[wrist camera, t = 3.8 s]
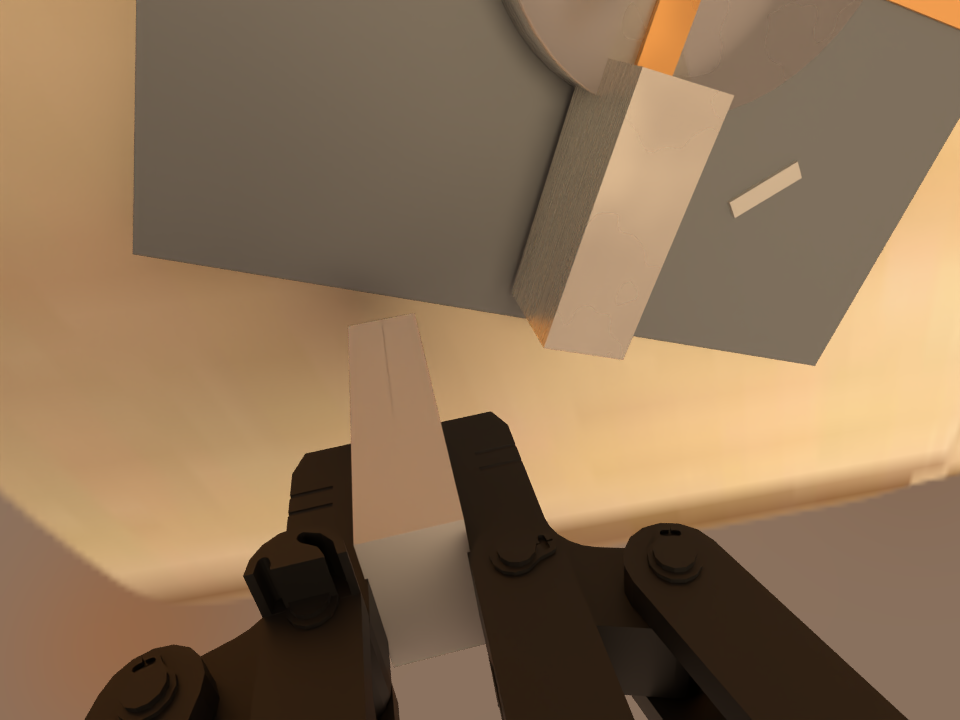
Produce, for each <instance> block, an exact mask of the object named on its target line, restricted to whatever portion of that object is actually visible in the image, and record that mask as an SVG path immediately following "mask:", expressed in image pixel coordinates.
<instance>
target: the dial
mask: <svg viewBox="0 0 960 720" xmlns="http://www.w3.org/2000/svg"><path fill="white" fill-rule="evenodd" d="M502 1H503V3H504V6H505V8H506V10H507V12H508V14H509V15H510V17H511V19H512V21H513V23H514V25H515V26H516V28H517V30H518V32H519V33H520V34H521V36H522V37H523V39H524V40H525V41H526V43H527V44H528V45H529V47H530V48H531V50H532V51H533V52H534V53H535V54H536V55H537V56H538V57H539V58H540V59H541V61H542V62H543V63H544V64H545V65H546V66H547V67H548V68H549V69H550V70H552V71H553V72H554V73H555V74H557V75H558V76H559V77H560V78H562V79H563V80H564V81H566V82H567V83H568V84H570V85H572V86H574V87H575V89H574V93H573V96H572V99H571V102H570V105H569V109H568V112H567V115H566V118H565V121H564V125H563V128H562V131H561V134H560V137H559V141H558V144H557V147H556V150H555V153H554V157H553V160H552V163H551V166H550V170H549V173H548V176H547V179H546V182H545V186H544V189H543V192H542V195H541V198H540V202H539V205H538V208H537V211H536V214H535V218H534V221H533V224H532V227H531V231H530V234H529V237H528V240H527V243H526V247H525V250H524V253H523V256H522V259H521V263H520V266H519V269H518V272H517V275H516V279H515V282H514V285H513V288H512V292H511V293H512V295H513V297H514V298H515V300H516V302H517V303H518V305H519V307H520V309H521V310H522V312H523V314H524V315H525V317H526V319H527V320H528V322H529V324H530V325H531V327H532V329H533V331H534V332H535V334H536V336H537V337H538V339H539V341H540V342H541V344H542V346H543V348H548V349H554V350H561V351H568V352H574V353H581V354H588V355H594V356H601V357H608V358H614V359H621V360H623V359H624V356H625V354H626V351H627V349H628V347H629V344H630V342H631V340H632V337H633V335H634V333H635V330H636V328H637V325H638V323H639V321H640V318H641V316H642V314H643V311H644V309H645V306H646V304H647V302H648V299H649V297H650V295H651V292H652V290H653V287H654V285H655V283H656V280H657V278H658V276H659V273H660V271H661V268H662V266H663V264H664V261H665V259H666V257H667V254H668V252H669V250H670V247H671V245H672V242H673V240H674V238H675V235H676V233H677V231H678V228H679V226H680V223H681V221H682V219H683V216H684V214H685V212H686V209H687V207H688V204H689V202H690V200H691V197H692V195H693V193H694V190H695V188H696V185H697V183H698V181H699V178H700V176H701V174H702V171H703V169H704V167H705V164H706V162H707V159H708V157H709V155H710V152H711V150H712V148H713V145H714V143H715V140H716V138H717V136H718V133H719V131H720V129H721V126H722V124H723V121H724V119H725V117H726V114H727V112H728V111H729V110H731V109H734V108H736V107H739V106H742V105H744V104H747V103H749V102H752V101H753V100H755V99H757V98H759V97H761V96H763V95H765V94H766V93H768V92H770V91H772V90H774V89H775V88H777V87H778V86H780V85H781V84H782V83H784V82H785V81H787V80H788V79H790V78H791V77H792V76H794V75H795V74H797V73H798V72H799V71H800V70H801V69H802V68H804V67H805V66H806V65H807V64H808V63H809V62H811V61H812V60H813V59H814V58H815V57H816V56H817V55H818V54H819V53H820V52H821V51H822V50H823V49H824V48H825V47H826V46H827V45H828V44H829V43H830V42H831V41H832V40H833V39H834V38H835V36H836V35H837V34H838V33H839V32H840V31H841V29H842V28H843V27H844V26H845V24H846V23H847V22H848V20H849V19H850V18H851V17H852V15H853V14H854V13H855V12H856V10H857V9H858V7H859V6H860V4H861V3H862V1H863V0H502Z"/></svg>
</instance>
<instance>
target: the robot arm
mask: <svg viewBox="0 0 960 720" xmlns="http://www.w3.org/2000/svg"><path fill="white" fill-rule="evenodd" d="M348 342H349V382H350V422H351V444H348V445H343V446H338V447H334V448H329V449H325V450H320V451H316V452H311V453H306V454H305V455H304V457H303V458H302V460H301V461H300V463H299V465H298V466H297V468H296V469H295V471H294V472H293V474H292V482H291V492H290V496H291V499H290V502H289V512H288V513H289V517H288V522H287V531H285V532H283V533H280V534H278V535H277V536H275V537H274V538H272V539H271V540H269V541H268V542H266V543H265V544H263V545H262V546H261V547H260V548H259V550H258V551H257V552H256V553H255V554H254V555H253V557H252V558H251V559H250V560H249V563H248V565H247V568H246V570H245V573H244V575H243V577H244V579H245V581H246V583H247V585H248V587H249V590H250V592H251V594H252V596H253V598H254V600H255V602H256V604H257V606H258V608H259V611H260V613H261V615H262V617H263V618H262V619H261V620H259V621H258V622H257V623H256V624H255V625H254V626H253V627H251V628H250V629H249V630H247V631H246V632H244V633H243V634H241V635H240V636H238V637H236V638H235V639H233V640H231V641H229V642H227V643H225V644H223V645H221V646H220V647H218V648H216V649H214V650H212V651H210V652H208V653H206V654H204V655H203V656H201V657H200V656H199V655H198V654H197V653H196V652H195V651H194V650H192V649H191V648H190V647H185V646H179V645H170V646H165V647H160V648H155V649H152V650H151V651H149V652H147V653H145V654H143V655H141V656H139V657H137V658H135V659H133V660H132V661H131V662H129V663H128V664H127V665H126V666H124V667H123V668H122V669H121V670H120V671H118V672H117V673H116V674H115V675H114V676H113V677H112V678H111V680H110V681H109V682H108V684H107V685H106V686H105V687H104V689H103V690H102V691H101V693H100V694H99V695H98V697H97V699H96V701H95V702H94V704H93V706H92V708H91V709H90V711H89V713H88V714H87V716H86V718H85V720H399V708H398V701H397V698H396V695H395V692H394V689H393V686H392V683H391V671H390V659H389V655H390V658H391V661H392V664H393V667H398V666H402V665H406V664H409V663H413V662H417V661H421V660H425V659H429V658H433V657H437V656H441V655H445V654H448V653H452V652H456V651H460V650H464V649H468V648H472V647H476V646H480V645H484V644H486V647H487V652H488V656H489V661H490V666H491V671H492V676H493V682H494V687H495V692H496V697H497V702H498V707H499V708H500V713H501V717H502V720H634V718H633V715H632V713H631V710H630V708H629V705H628V703H627V700H626V698H625V695H632V697H633V699H634V700H635V701H636V703H637V704H638V706H639V707H640V708H641V710H642V711H643V713H644V714H645V715H646V717H647V718H648V720H908V719H907V718H906V717H905V716H904V715H903V714H902V713H900V712H899V711H898V710H897V709H896V708H895V707H894V706H893V705H892V704H891V703H890V702H888V700H886V699H885V698H884V697H883V696H882V695H881V694H880V693H879V692H878V691H877V690H876V689H874V688H873V687H872V686H871V685H870V684H869V683H868V682H867V681H866V680H865V679H864V678H863V677H861V676H860V675H859V674H858V673H857V672H856V671H855V670H854V669H853V668H852V667H851V666H849V665H848V664H847V663H846V662H845V661H844V660H843V659H842V658H841V657H840V656H839V655H838V654H837V653H835V652H834V651H833V650H832V649H831V648H830V647H829V646H828V645H827V644H826V643H825V642H823V641H822V640H821V639H820V638H819V637H818V636H817V635H816V634H815V633H814V632H813V631H812V630H811V629H809V628H808V627H807V626H806V625H805V624H804V623H803V622H802V621H801V620H800V619H799V618H797V617H796V616H795V615H794V614H793V613H792V612H791V611H790V610H789V609H788V608H787V607H786V606H784V605H783V604H782V603H781V602H780V601H779V600H778V599H777V598H776V597H775V596H774V595H773V594H771V593H770V592H769V591H768V590H767V589H766V588H765V587H764V586H763V585H762V584H761V583H759V582H758V581H757V580H756V579H755V578H754V577H753V576H752V575H751V574H750V573H749V572H748V571H746V570H745V569H744V568H743V567H742V566H741V565H740V564H739V563H738V562H737V561H736V560H735V559H733V558H732V557H731V556H730V555H729V554H728V553H727V552H726V551H725V550H724V549H723V548H722V547H720V546H719V545H718V544H717V543H716V542H715V541H714V540H713V539H711V538H709V537H708V536H707V535H705V534H704V533H702V532H701V531H699V530H698V529H694V528H691V527H688V526H685V525H682V524H674V523H659V524H655V525H651V526H648V527H644V528H642V529H641V530H639V531H638V532H637V533H635V534H634V535H633V536H631V537H630V539H629V541H628V543H627V545H626V547H625V548H604V547H591V546H583V545H580V544H577V543H574V542H571V541H568V540H567V539H565V538H563V537H562V536H560V535H558V534H557V533H556V532H555V531H554V530H553V529H552V528H551V527H550V526H549V524H548V523H547V521H546V519H545V518H544V515H543V513H542V510H541V508H540V505H539V503H538V500H537V498H536V495H535V493H534V490H533V488H532V485H531V483H530V480H529V477H528V475H527V472H526V470H525V467H524V465H523V462H522V461H521V457H520V455H519V452H518V450H517V447H516V446H515V442H514V440H513V437H512V435H511V432H510V429H509V427H508V425H507V424H506V423H505V422H504V421H502V420H501V419H500V418H498V417H497V416H496V415H495V414H493V413H492V412H491V411H490V412H486V413H481V414H477V415H472V416H467V417H463V418H458V419H454V420H449V421H444V422H440V417H439V413H438V409H437V405H436V401H435V397H434V392H433V388H432V384H431V380H430V376H429V371H428V367H427V363H426V359H425V355H424V351H423V346H422V342H421V338H420V334H419V330H418V325H417V321H416V317H415V313H411V314H406V315H401V316H396V317H391V318H386V319H381V320H376V321H371V322H366V323H361V324H356V325H351V326H348Z"/></svg>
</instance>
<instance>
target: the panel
mask: <svg viewBox="0 0 960 720" xmlns="http://www.w3.org/2000/svg"><path fill="white" fill-rule="evenodd" d="M574 89H575V87H574V86H572V85H570V84H568V83H567V82H566V81H564V80H563V79H562V78H560V77H559V76H558V75H557V74H555V73H554V72H553V71H552V70H550V69H549V68H548V67H547V66H546V65H545V64H544V63H543V62H542V61H541V59H540V58H539V57H538V56H537V55H536V54H535V53H534V52H533V51H532V50H531V48H530V47H529V45H528V44H527V43H526V41H525V40H524V39H523V37H522V36H521V34H520V33H519V32H518V30H517V28H516V26H515V25H514V23H513V21H512V19H511V17H510V15H509V14H508V12H507V10H506V8H505V6H504V3H503V1H502V0H136V60H135V132H134V204H133V254H135V255H141V256H147V257H153V258H159V259H165V260H172V261H178V262H184V263H190V264H196V265H202V266H208V267H214V268H220V269H227V270H233V271H239V272H245V273H251V274H257V275H263V276H269V277H275V278H282V279H288V280H294V281H300V282H306V283H312V284H318V285H324V286H330V287H337V288H343V289H349V290H355V291H361V292H367V293H373V294H379V295H385V296H392V297H398V298H404V299H410V300H416V301H422V302H428V303H434V304H440V305H446V306H453V307H459V308H465V309H471V310H477V311H483V312H489V313H495V314H501V315H508V316H514V317H520V318H526V317H525V315H524V314H523V312H522V310H521V309H520V307H519V305H518V303H517V302H516V300H515V298H514V297H513V295H512V293H511V292H512V288H513V285H514V282H515V279H516V275H517V272H518V269H519V266H520V263H521V259H522V256H523V253H524V250H525V247H526V243H527V240H528V237H529V234H530V231H531V227H532V224H533V221H534V218H535V214H536V211H537V208H538V205H539V202H540V198H541V195H542V192H543V189H544V186H545V182H546V179H547V176H548V173H549V170H550V166H551V163H552V160H553V157H554V153H555V150H556V147H557V144H558V141H559V137H560V134H561V131H562V128H563V125H564V121H565V118H566V115H567V112H568V109H569V105H570V102H571V99H572V96H573V93H574ZM959 118H960V0H863V1H862V3H861V4H860V6H859V7H858V9H857V10H856V12H855V13H854V14H853V15H852V17H851V18H850V19H849V20H848V22H847V23H846V24H845V26H844V27H843V28H842V29H841V31H840V32H839V33H838V34H837V35H836V36H835V38H834V39H833V40H832V41H831V42H830V43H829V44H828V45H827V46H826V47H825V48H824V49H823V50H822V51H821V52H820V53H819V54H818V55H817V56H816V57H815V58H814V59H813V60H812V61H811V62H809V63H808V64H807V65H806V66H805V67H804V68H802V69H801V70H800V71H799V72H798V73H797V74H795V75H794V76H792V77H791V78H790V79H788V80H787V81H785V82H784V83H782V84H781V85H780V86H778V87H777V88H775V89H774V90H772V91H770V92H768V93H766V94H765V95H763V96H761V97H759V98H757V99H755V100H753V101H752V102H749V103H747V104H744V105H742V106H739V107H736V108H734V109H731V110H729V111H728V112H727V114H726V117H725V119H724V121H723V124H722V126H721V129H720V131H719V133H718V136H717V138H716V140H715V143H714V145H713V148H712V150H711V152H710V155H709V157H708V159H707V162H706V164H705V167H704V169H703V171H702V174H701V176H700V178H699V181H698V183H697V185H696V188H695V190H694V193H693V195H692V197H691V200H690V202H689V204H688V207H687V209H686V212H685V214H684V216H683V219H682V221H681V223H680V226H679V228H678V231H677V233H676V235H675V238H674V240H673V242H672V245H671V247H670V250H669V252H668V254H667V257H666V259H665V261H664V264H663V266H662V268H661V271H660V273H659V276H658V278H657V280H656V283H655V285H654V287H653V290H652V292H651V295H650V297H649V299H648V302H647V304H646V306H645V309H644V311H643V314H642V316H641V318H640V321H639V323H638V325H637V328H636V330H635V333H634V335H633V336H636V337H642V338H648V339H654V340H660V341H666V342H673V343H679V344H685V345H691V346H697V347H703V348H709V349H715V350H721V351H727V352H734V353H740V354H746V355H752V356H758V357H764V358H770V359H776V360H782V361H789V362H795V363H801V364H807V365H813V366H815V365H816V363H817V361H818V360H819V358H820V356H821V354H822V353H823V351H824V349H825V348H826V346H827V344H828V342H829V341H830V339H831V337H832V336H833V334H834V332H835V330H836V329H837V327H838V325H839V324H840V322H841V320H842V318H843V317H844V315H845V313H846V312H847V310H848V308H849V306H850V305H851V303H852V301H853V300H854V298H855V296H856V294H857V293H858V291H859V289H860V288H861V286H862V284H863V282H864V281H865V279H866V277H867V276H868V274H869V272H870V270H871V269H872V267H873V265H874V264H875V262H876V260H877V258H878V257H879V255H880V253H881V252H882V250H883V248H884V246H885V245H886V243H887V241H888V240H889V238H890V236H891V234H892V233H893V231H894V229H895V228H896V226H897V224H898V223H899V221H900V219H901V217H902V216H903V214H904V212H905V211H906V209H907V207H908V205H909V204H910V202H911V200H912V199H913V197H914V195H915V193H916V192H917V190H918V188H919V187H920V185H921V183H922V181H923V180H924V178H925V176H926V175H927V173H928V171H929V169H930V168H931V166H932V164H933V163H934V161H935V159H936V157H937V156H938V154H939V152H940V151H941V149H942V147H943V145H944V144H945V142H946V140H947V139H948V137H949V135H950V133H951V132H952V130H953V128H954V127H955V125H956V123H957V121H958V120H959Z"/></svg>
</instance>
